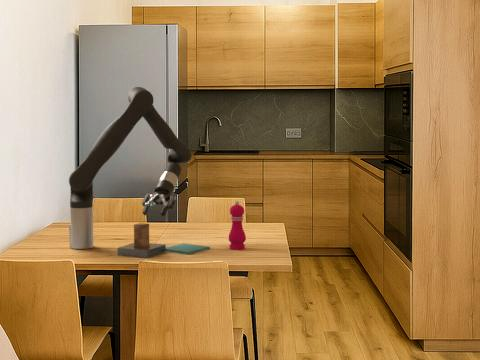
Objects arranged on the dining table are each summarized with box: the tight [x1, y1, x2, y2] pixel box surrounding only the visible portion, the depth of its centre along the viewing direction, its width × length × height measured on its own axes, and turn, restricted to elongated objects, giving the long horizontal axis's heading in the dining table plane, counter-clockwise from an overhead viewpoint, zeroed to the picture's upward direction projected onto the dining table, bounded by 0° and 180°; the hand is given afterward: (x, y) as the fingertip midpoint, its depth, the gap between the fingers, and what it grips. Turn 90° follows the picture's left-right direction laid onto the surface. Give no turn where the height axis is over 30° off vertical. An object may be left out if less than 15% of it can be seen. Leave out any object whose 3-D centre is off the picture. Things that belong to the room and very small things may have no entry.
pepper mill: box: [228, 200, 247, 251], centre depth 319 cm, size 7×7×20 cm
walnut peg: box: [133, 222, 150, 248], centre depth 310 cm, size 4×4×12 cm
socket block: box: [117, 242, 167, 259], centre depth 310 cm, size 14×14×3 cm
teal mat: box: [166, 242, 211, 255], centre depth 318 cm, size 14×14×1 cm
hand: (153, 214), depth 317 cm, fingers open, 8 cm apart
